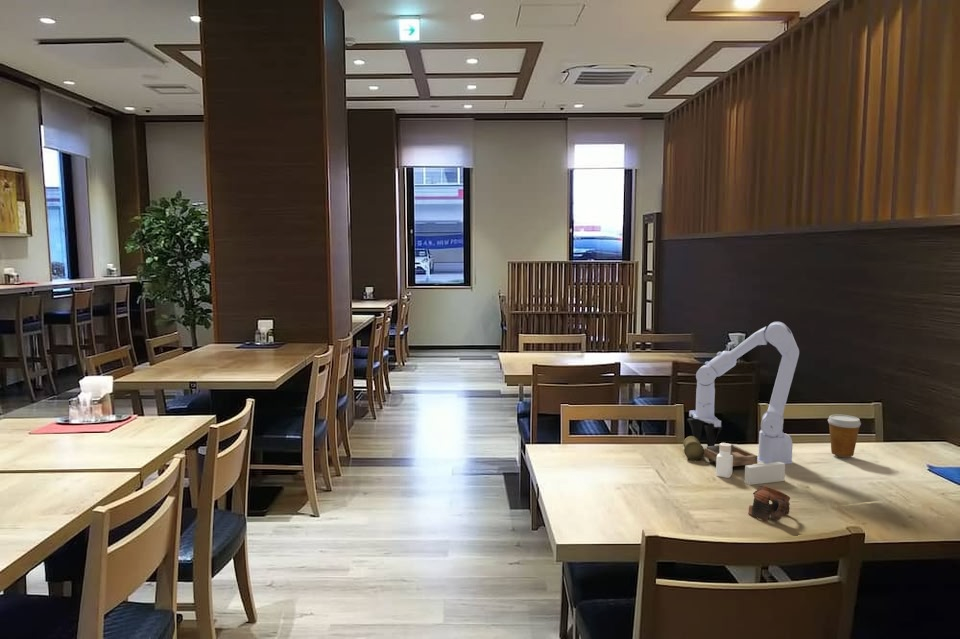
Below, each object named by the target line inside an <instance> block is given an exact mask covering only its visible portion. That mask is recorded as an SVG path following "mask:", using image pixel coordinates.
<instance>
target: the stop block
mask: <svg viewBox="0 0 960 639" xmlns="http://www.w3.org/2000/svg"><path fill="white" fill-rule="evenodd" d="M785 476H786V464H784V463H782V462H774V463H757V464H753V465H744V483H745V484H747V485H748V486H751V485H759V484H760V485H761V484H769V483H770V484H771V483H777V482H784V481H785Z"/></svg>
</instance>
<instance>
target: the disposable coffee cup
mask: <svg viewBox="0 0 960 639" xmlns="http://www.w3.org/2000/svg"><path fill="white" fill-rule="evenodd" d="M827 422H828V424H829V425H828V426H829V437H830V439H829V440H830V450H831V451H830V452H831V454H833V455H835V456H838V457H844V458H850V457H854V454H855V449H856V445H857V439H858V436H859V431H860V427H861V425H862V422H861V420H860V418H858V417H856V416H853V415H848V414H847V415H846V414H831V415H829V417H828V419H827Z"/></svg>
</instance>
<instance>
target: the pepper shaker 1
mask: <svg viewBox="0 0 960 639" xmlns="http://www.w3.org/2000/svg"><path fill="white" fill-rule="evenodd" d="M683 448H684V449H683V452H684V453H683V454H684V456H685V457H686V458H687V459H688V460H690V461H699V460H700V459H702V458H703V457H704V449H705V448H704V446H703V445H702V443H701V442H700V440H698V439H697V438H696V437H694V436H693V435H689V436H687V437H686V438H684V439H683Z"/></svg>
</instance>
